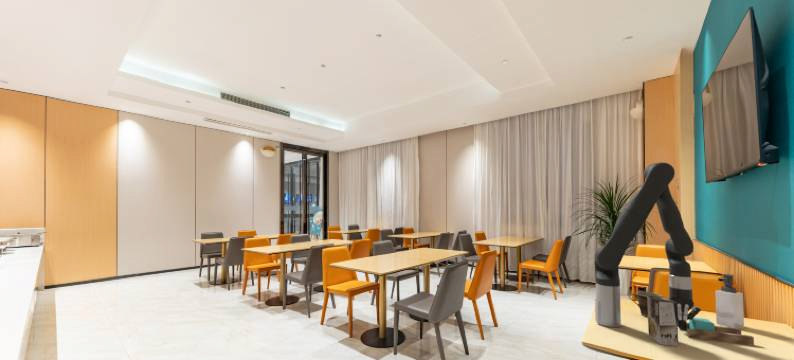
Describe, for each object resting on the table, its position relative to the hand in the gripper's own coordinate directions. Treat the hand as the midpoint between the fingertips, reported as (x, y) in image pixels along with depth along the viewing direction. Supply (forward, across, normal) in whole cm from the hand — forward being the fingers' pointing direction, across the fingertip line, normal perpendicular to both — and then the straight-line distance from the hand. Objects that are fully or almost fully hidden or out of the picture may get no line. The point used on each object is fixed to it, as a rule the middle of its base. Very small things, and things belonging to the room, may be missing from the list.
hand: (681, 328), depth 143 cm
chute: (+2, +11, 0) cm, 11 cm away
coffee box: (+2, -10, -13) cm, 17 cm away
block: (+2, +7, 0) cm, 7 cm away
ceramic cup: (+2, -7, +20) cm, 21 cm away
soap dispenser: (+2, +23, +18) cm, 29 cm away
